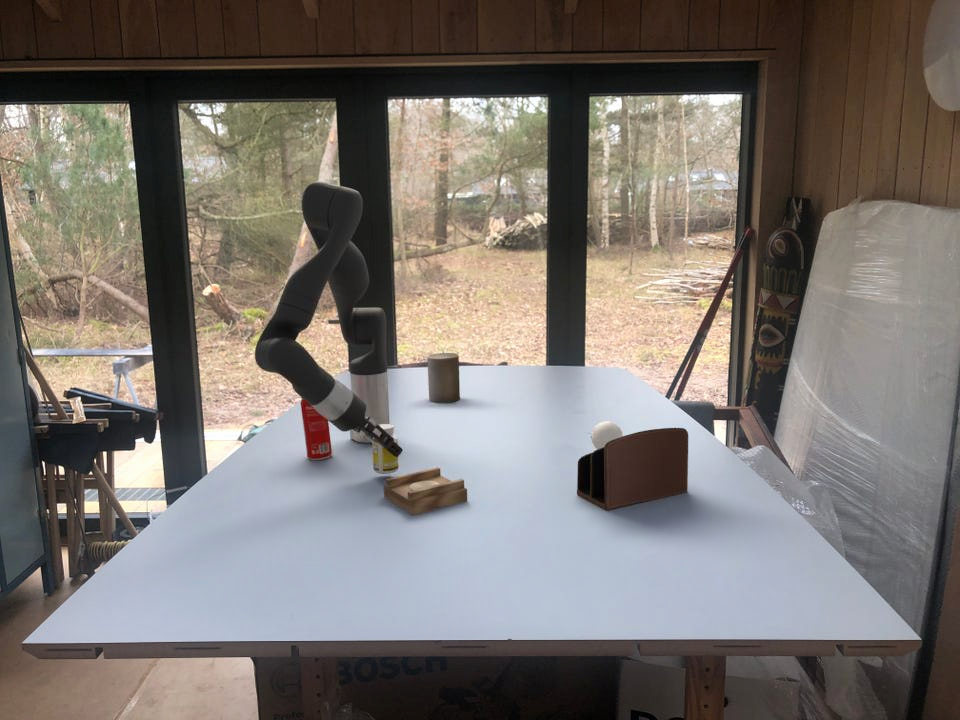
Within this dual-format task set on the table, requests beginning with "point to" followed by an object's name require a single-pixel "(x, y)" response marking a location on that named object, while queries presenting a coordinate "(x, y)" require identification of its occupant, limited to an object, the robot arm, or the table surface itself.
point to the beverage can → (315, 433)
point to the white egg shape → (605, 433)
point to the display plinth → (424, 491)
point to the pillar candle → (443, 377)
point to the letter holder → (635, 469)
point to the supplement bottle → (385, 454)
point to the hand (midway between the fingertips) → (392, 449)
